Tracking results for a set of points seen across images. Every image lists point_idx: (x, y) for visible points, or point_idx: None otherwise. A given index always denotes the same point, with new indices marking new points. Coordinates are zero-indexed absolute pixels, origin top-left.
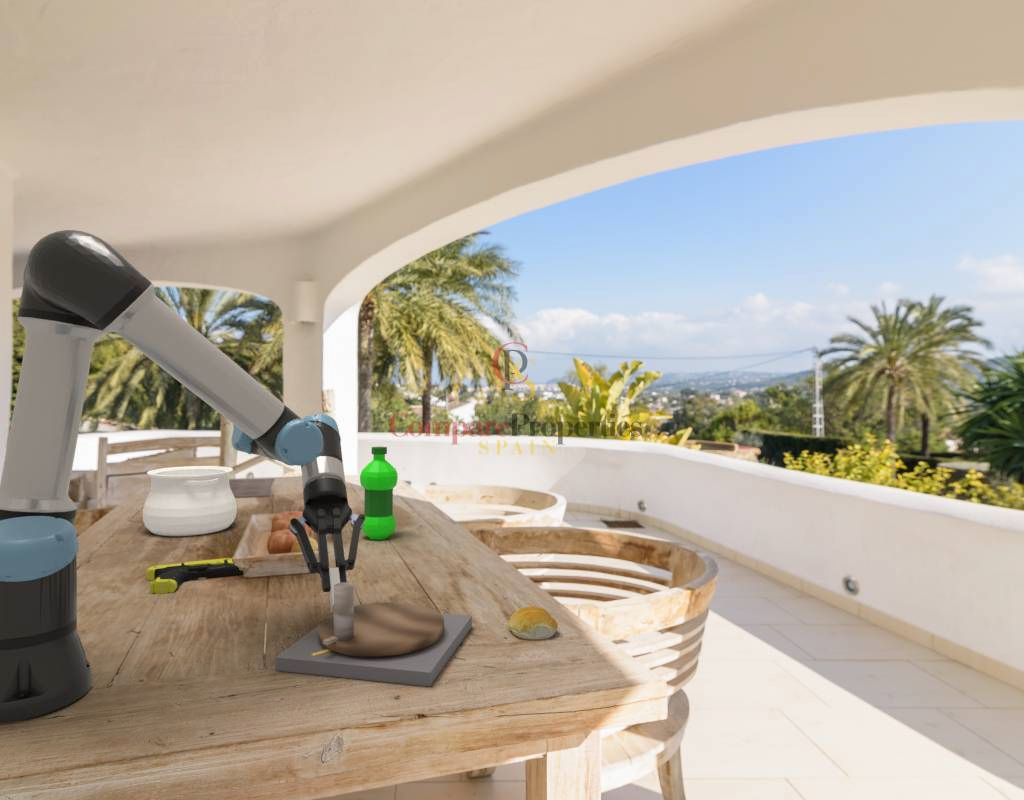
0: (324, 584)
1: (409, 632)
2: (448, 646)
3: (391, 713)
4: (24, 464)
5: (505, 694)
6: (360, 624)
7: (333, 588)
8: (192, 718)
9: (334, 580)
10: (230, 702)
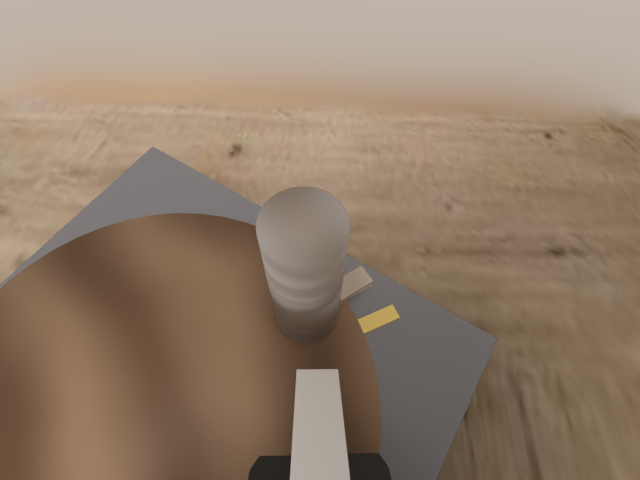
0: (379, 469)
1: (107, 283)
2: (34, 255)
3: (262, 109)
4: None
5: (55, 107)
6: (229, 415)
7: (332, 420)
8: (602, 187)
9: (323, 456)
10: (550, 223)
